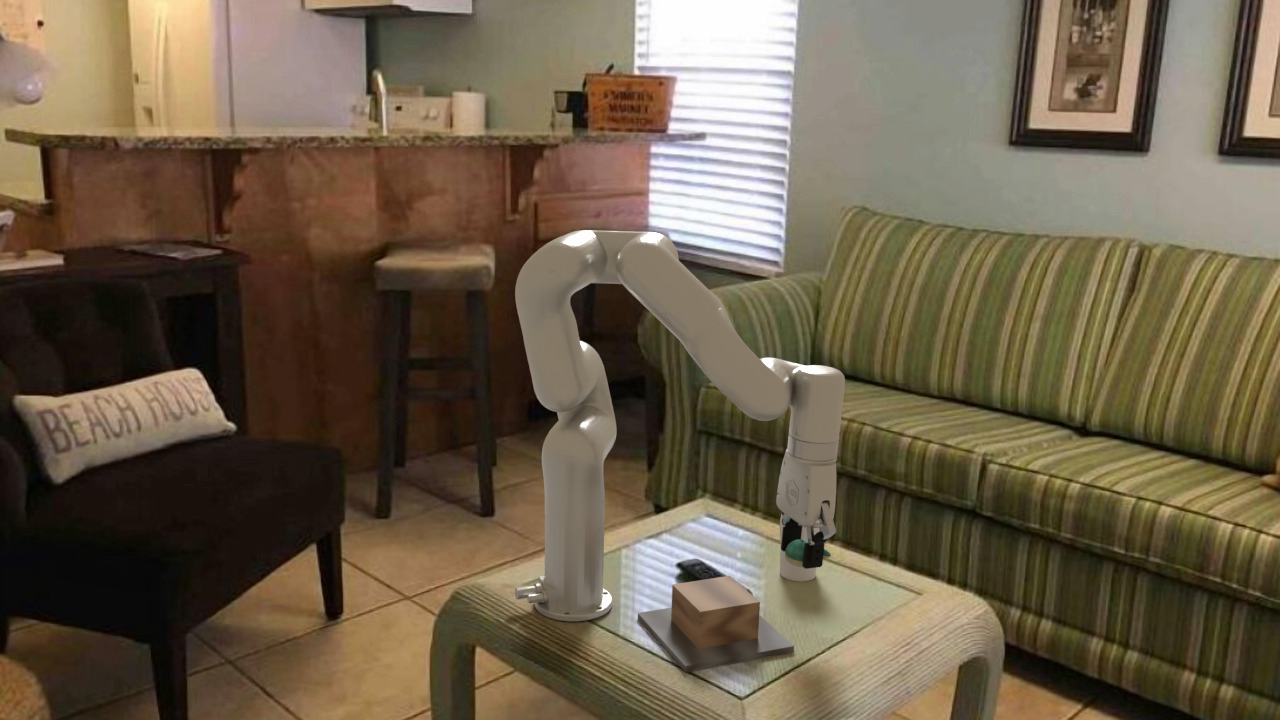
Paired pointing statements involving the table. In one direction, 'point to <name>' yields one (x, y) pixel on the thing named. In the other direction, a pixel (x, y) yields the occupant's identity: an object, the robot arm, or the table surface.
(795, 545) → the whale figurine
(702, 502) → the table surface
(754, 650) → the display plinth
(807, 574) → the mug
